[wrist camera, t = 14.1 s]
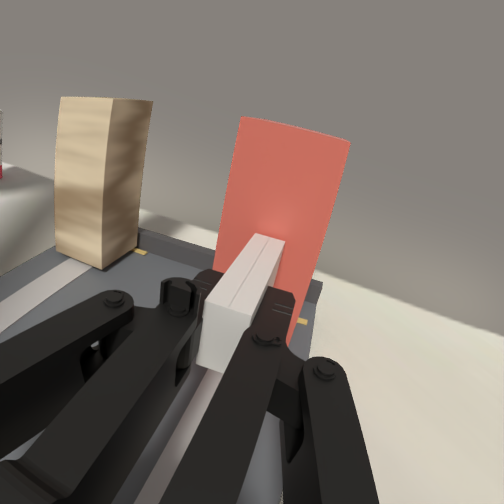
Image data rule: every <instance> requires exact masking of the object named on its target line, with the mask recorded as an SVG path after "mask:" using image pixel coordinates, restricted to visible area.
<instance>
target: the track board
mask: <svg viewBox="0 0 504 504" xmlns="http://www.w3.org/2000/svg"><path fill="white" fill-rule="evenodd" d="M214 257H215V250H212V249H208V248H205V247H202V246H198V245H195V244H192V243H188V242H185V241H182V240H178V239H175V238H172V237H168V236H165V235H162V234H159V233H155V232H152V231H149V230H145V229H142V228H139V227H138V234H137V246H136V247H134V248H133V249H131V250H130V251H128V252H127V253H125V254H124V255H123V256H121V257H120V258H118V259H117V260H115V261H114V262H112V263H111V264H109V265H108V266H106V267H105V268H104V269H102V270H101V269H99V268H96V267H94V266H91V265H89V264H86V263H84V262H81V261H79V260H77V259H74V258H72V257H69V256H67V255H65V254H62V253H60V252H58V251H56V246H54V247H52V248H50V249H48V250H46V251H44V252H43V253H41V254H39V255H37V256H35V257H34V258H32V259H30V260H28V261H26V262H25V263H23V264H21V265H19V266H18V267H16V268H14V269H13V270H11V271H9V272H7V273H6V274H4V275H2V276H1V277H0V343H2V342H4V341H6V340H8V339H10V338H11V337H13V336H15V335H17V334H19V333H21V332H23V331H25V330H27V329H29V328H31V327H33V326H35V325H37V324H39V323H41V322H43V321H44V320H46V319H48V318H50V317H52V316H54V315H56V314H58V313H60V312H62V311H64V310H66V309H68V308H70V307H72V306H74V305H76V304H78V303H80V302H82V301H84V300H86V299H88V298H91V297H93V296H95V295H97V294H99V293H101V292H103V291H107V290H121V291H124V292H126V293H129V294H130V295H131V296H132V297H133V300H134V306H139V307H146V308H156V306H157V305H158V304H159V302H160V286H161V281H163V280H165V279H167V278H171V277H182V278H187V279H190V280H193V279H194V277H195V276H196V275H197V274H198V273H199V272H201V271H204V270H206V269H213V263H214ZM322 285H323V282H320V281H317V280H313V279H311V281H310V284H309V287H308V290H307V293H306V296H305V299H304V302H303V305H302V308H301V311H300V314H299V317H298V320H297V323H296V326H295V329H294V331H293V334H292V337H291V340H290V343H289V345H288V348H289V349H290V351H291V352H292V353H293V354H294V355H296V356H298V357H299V358H301V359H303V360H304V361H307V359H308V358H309V352H310V346H311V339H312V332H313V325H314V318H315V311H316V304H317V301H318V298H319V296H320V293H321V290H322ZM96 345H98V341H97V342H95V343H94V344H92V345H91V347H94V346H96ZM196 356H197V354H196ZM196 356H195V358H194V359H193V361H192V364H191V370H190V374H189V376H188V377H187V379H186V381H185V382H184V384H183V386H182V387H181V389H180V391H179V392H178V394H177V396H176V397H175V399H174V401H173V402H172V404H171V406H170V407H169V409H168V411H167V412H166V414H165V416H164V417H163V419H162V421H161V422H160V424H159V426H158V427H157V429H156V431H155V432H154V434H153V436H152V437H151V439H150V441H149V442H148V444H147V446H146V447H145V449H144V450H143V452H142V454H141V455H140V457H139V459H138V460H137V462H136V464H135V465H134V467H133V469H132V470H131V472H130V474H129V475H128V477H127V478H126V480H125V482H124V483H123V485H122V487H121V488H120V490H119V492H118V493H117V495H116V497H115V498H114V500H113V501H112V503H111V504H159V502H160V500H161V498H162V496H163V494H164V492H165V490H166V488H167V486H168V484H169V482H170V481H171V479H172V477H173V475H174V473H175V471H176V469H177V467H178V465H179V463H180V461H181V459H182V457H183V455H184V453H185V451H186V449H187V447H188V445H189V443H190V441H191V439H192V437H193V435H194V433H195V431H196V429H197V427H198V425H199V423H200V421H201V419H202V417H203V415H204V413H205V411H206V409H207V407H208V405H209V403H210V401H211V399H212V397H213V395H214V393H215V391H216V389H217V386H218V384H219V382H220V380H221V378H222V376H223V373H220V372H217V371H214V370H211V369H209V368H206V367H203V366H200V365H198V364H196ZM279 420H280V419H279V418H277V417H276V416H274V415H272V414H271V413H269V412H267V411H266V414H265V417H264V421H263V424H262V427H261V430H260V434H259V437H258V440H257V443H256V446H255V449H254V453H253V456H252V459H251V462H250V465H249V468H248V471H247V474H246V477H245V480H244V483H243V486H242V489H241V492H240V494H239V497H238V500H237V503H236V504H279V502H280V498H281V494H282V490H283V482H282V463H281V446H280V429H279ZM44 430H45V429H44ZM44 430H43V431H44ZM43 431H41V432H40V433H39V434H37V435H36V436H34V437H33V438H31V439H30V440H28V441H27V442H26V443H24V444H23V445H21V446H20V447H18V448H17V449H15V450H14V451H12V452H11V453H10V454H8V455H7V456H5V457H4V458H2V459H1V460H0V461H3V460H5V459H6V460H17V459H19V458H20V457H22V456H23V455H24V454H25V452H26V451H27V450H28V449H29V448H30V446H31V445H32V444H33V443H34V442H35V441H36V439H37V438H38V437H39V436H40V435H41V434H42V432H43Z"/></svg>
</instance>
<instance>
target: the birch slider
mask: <svg viewBox="0 0 504 504" xmlns="http://www.w3.org/2000/svg"><path fill="white" fill-rule="evenodd" d="M152 105H153V101H146V100H135V99H122V98H107V97H61V102H60V110H59V118H58V129H57V141H56V155H55V180H54V216H55V241H56V251H58V252H60V253H62V254H65V255H67V256H69V257H72V258H74V259H77V260H79V261H81V262H84V263H86V264H89V265H91V266H94V267H96V268H99V269H101V270H102V269H104V268H105V267H106V266H108V265H109V264H111V263H112V262H114V261H115V260H117V259H118V258H120V257H121V256H123V255H124V254H125V253H127V252H128V251H130V250H131V249H133V248H134V247H136V246H137V234H138V219H139V207H140V196H141V186H142V176H143V167H144V159H145V151H146V144H147V137H148V130H149V123H150V117H151V111H152Z"/></svg>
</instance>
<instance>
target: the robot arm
mask: <svg viewBox="0 0 504 504" xmlns="http://www.w3.org/2000/svg"><path fill="white" fill-rule="evenodd" d="M284 245H285V241H282V240H279V239H275V238H272V237H268V236H265V235H261V234H257V233H255V234H254V235H253V237H252V238H251V239H250V241H249V242H248V243H247V245H246V246H245V247H244V249H243V250H242V251H241V253H240V254H239V255H238V257H237V258H236V259H235V261H234V262H233V263H232V265H231V266H230V267H229V269H228V270H227V271H226V273H222V272H219V271H215V270H212V269H206V270H204V271H201V272H199V273H198V274H197V275H196V276H195V277H194V279H193V280H190V279H187V278H182V277H171V278H167V279H165V280H163V281H161V286H160V302H159V304H158V305H157V306H156V308H146V307H139V306H134V300H133V297H132V296H131V295H130V294H129V293H126V292H124V291H121V290H107V291H103V292H101V293H99V294H97V295H95V296H93V297H91V298H88V299H86V300H84V301H82V302H80V303H78V304H76V305H74V306H72V307H70V308H68V309H66V310H64V311H62V312H60V313H58V314H56V315H54V316H52V317H50V318H48V319H46V320H44V321H43V322H41V323H39V324H37V325H35V326H33V327H31V328H29V329H27V330H25V331H23V332H21V333H19V334H17V335H15V336H13V337H11V338H10V339H8V340H6V341H4V342H2V343H0V460H1V459H2V458H4V457H5V456H7V455H8V454H10V453H11V452H12V451H14V450H15V449H17V448H18V447H20V446H21V445H23V444H24V443H26V442H27V441H28V440H30V439H31V438H33V437H34V436H36V435H37V434H39V433H40V432H41V431H43V430H44V429H45V430H44V431H43V432H42V434H41V435H40V436H39V437H38V438H37V439H36V441H35V442H34V443H33V444H32V445H31V446H30V448H29V449H28V450H27V451H26V452H25V454H24V455H23V456H22V457H20V458H19V459H17V460H6V459H5V460H3V461H0V504H111V503H112V501H113V500H114V498H115V497H116V495H117V493H118V492H119V490H120V488H121V487H122V485H123V483H124V482H125V480H126V478H127V477H128V475H129V474H130V472H131V470H132V469H133V467H134V465H135V464H136V462H137V460H138V459H139V457H140V455H141V454H142V452H143V450H144V449H145V447H146V446H147V444H148V442H149V441H150V439H151V437H152V436H153V434H154V432H155V431H156V429H157V427H158V426H159V424H160V422H161V421H162V419H163V417H164V416H165V414H166V412H167V411H168V409H169V407H170V406H171V404H172V402H173V401H174V399H175V397H176V396H177V394H178V392H179V391H180V389H181V387H182V386H183V384H184V382H185V381H186V379H187V377H188V376H189V374H190V370H191V364H192V361H193V359H194V358H195V356H196V354H197V356H196V364H198V365H200V366H203V367H206V368H209V369H211V370H214V371H217V372H220V373H223V376H222V378H221V380H220V382H219V384H218V386H217V389H216V391H215V393H214V395H213V397H212V399H211V401H210V403H209V405H208V407H207V409H206V411H205V413H204V415H203V417H202V419H201V421H200V423H199V425H198V427H197V429H196V431H195V433H194V435H193V437H192V439H191V441H190V443H189V445H188V447H187V449H186V451H185V453H184V455H183V457H182V459H181V461H180V463H179V465H178V467H177V469H176V471H175V473H174V475H173V477H172V479H171V481H170V482H169V484H168V486H167V488H166V490H165V492H164V494H163V496H162V498H161V500H160V502H159V504H236V503H237V500H238V497H239V494H240V492H241V489H242V486H243V483H244V480H245V477H246V474H247V471H248V468H249V465H250V462H251V459H252V456H253V453H254V449H255V446H256V443H257V440H258V437H259V434H260V430H261V427H262V424H263V421H264V417H265V414H266V411H267V412H269V413H271V414H272V415H274V416H276V417H277V418H279V419H280V420H279V429H280V446H281V463H282V482H283V501H284V504H379V500H378V495H377V491H376V487H375V482H374V478H373V474H372V470H371V466H370V462H369V458H368V454H367V450H366V446H365V442H364V438H363V434H362V430H361V426H360V423H359V419H358V415H357V412H356V408H355V404H354V401H353V397H352V394H351V390H350V386H349V383H348V380H347V376H346V373H345V371H344V369H343V367H341V366H340V365H339V364H338V363H337V362H335V361H333V360H331V359H330V358H325V357H312V358H310V359H307V361H304V360H303V359H301V358H299V357H298V356H296V355H294V354H293V353H292V352H291V351H290V349H289V348H288V346H287V344H286V336H287V333H288V329H289V325H290V321H291V317H292V313H293V309H294V306H295V302H296V300H295V298H294V296H293V293H291V292H288V291H284V290H281V289H278V288H274V287H273V286H274V282H275V278H276V275H277V271H278V267H279V263H280V260H281V256H282V252H283V248H284ZM97 341H98V345H96V346H94V347H91V345H92V344H94V343H95V342H97Z"/></svg>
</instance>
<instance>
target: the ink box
mask: <svg viewBox="0 0 504 504" xmlns="http://www.w3.org/2000/svg"><path fill="white" fill-rule="evenodd" d="M2 124H3V111H2V110H0V179H1V178H2Z"/></svg>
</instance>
